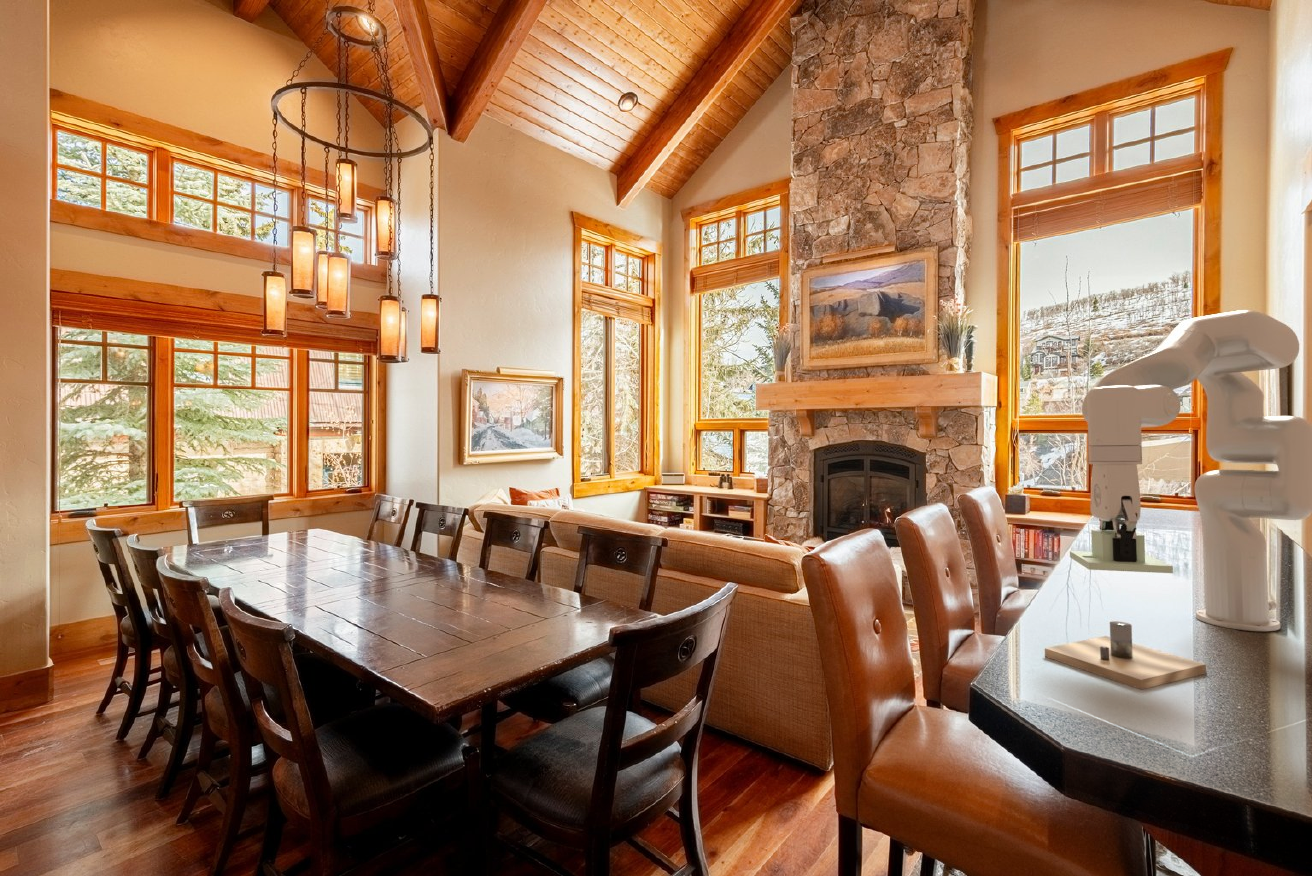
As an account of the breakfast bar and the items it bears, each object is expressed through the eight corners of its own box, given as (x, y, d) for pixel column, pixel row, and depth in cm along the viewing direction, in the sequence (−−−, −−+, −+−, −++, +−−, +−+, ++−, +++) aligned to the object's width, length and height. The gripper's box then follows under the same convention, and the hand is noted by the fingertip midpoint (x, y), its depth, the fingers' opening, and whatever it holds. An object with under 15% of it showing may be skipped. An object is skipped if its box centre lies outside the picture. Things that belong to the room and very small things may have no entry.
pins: (1118, 651, 107) (1117, 620, 107) (1136, 657, 104) (1135, 625, 104) (1093, 657, 105) (1092, 625, 105) (1111, 662, 102) (1110, 630, 102)
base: (1106, 643, 115) (1105, 636, 115) (1206, 673, 100) (1206, 664, 100) (1044, 656, 110) (1044, 648, 110) (1141, 689, 95) (1140, 679, 95)
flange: (1144, 560, 110) (1143, 528, 110) (1172, 573, 99) (1171, 538, 100) (1069, 557, 114) (1069, 527, 115) (1089, 569, 104) (1088, 536, 104)
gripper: (1075, 455, 117) (1078, 549, 116) (1105, 457, 100) (1109, 566, 100) (1122, 454, 114) (1125, 550, 114) (1161, 457, 98) (1165, 569, 98)
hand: (1117, 557), depth 107 cm, fingers closed on flange, 6 cm apart
